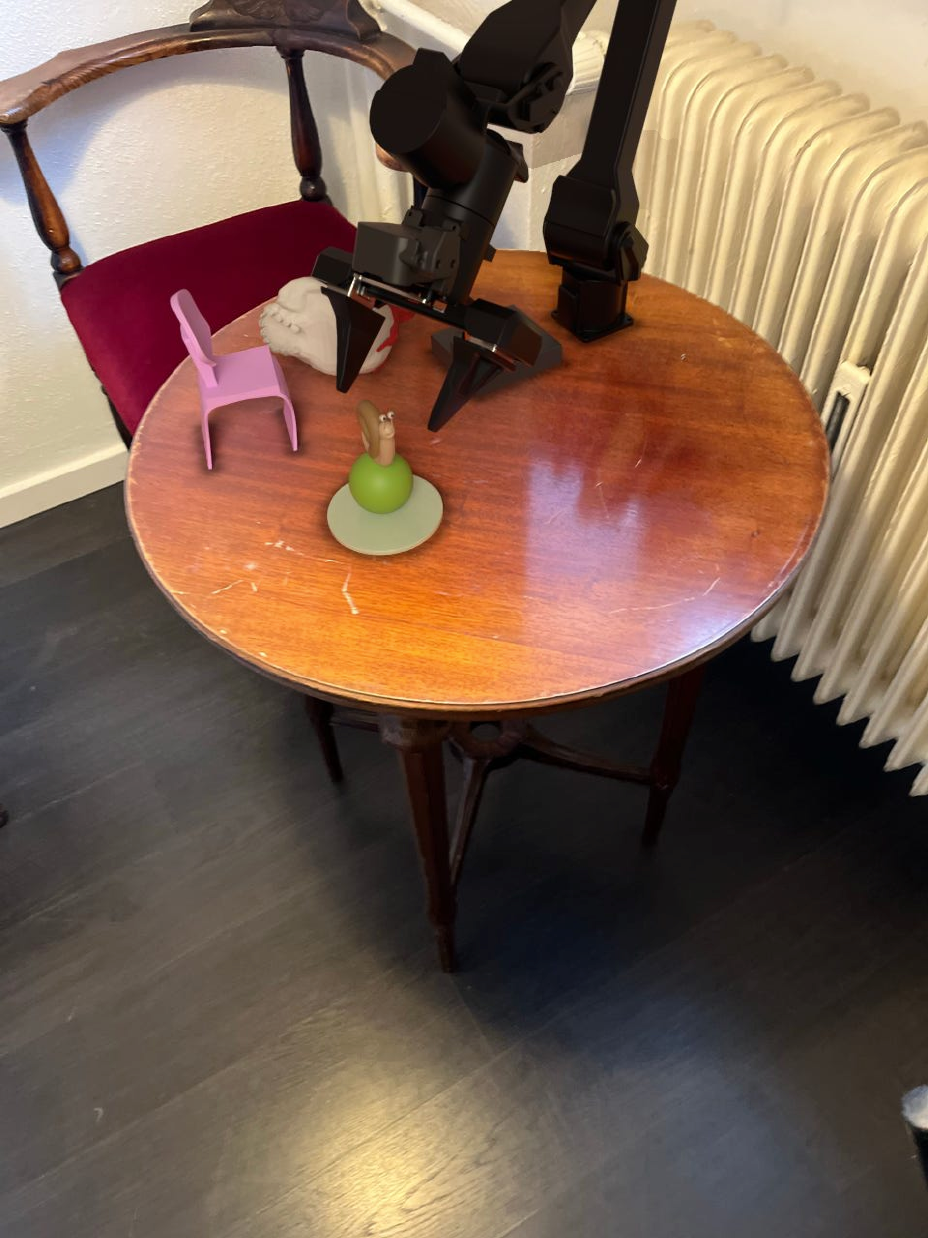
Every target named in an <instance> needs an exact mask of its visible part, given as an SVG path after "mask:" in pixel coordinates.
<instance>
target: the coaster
mask: <svg viewBox="0 0 928 1238" xmlns="http://www.w3.org/2000/svg"><path fill="white" fill-rule="evenodd" d="M412 474H413V473H412ZM443 515H444V505H443V499H442V497H441V494H440V492H439V491H438V490H437V488H436V487H435V486H434V485H433V484H432V483H430V482H429V481H428V480H427V479H425V478H423V477H420V476H418V475H416V474H413V489H412V493H411V495H410V497H409V499H408V500H407V502H406V503H405V504H404V505H403V506H402V507H401V508H399V509H398V510H396V511H394V512H391V513H387V514H376V513H372V512H369V511H367V510H365V509H363V508H362V507H361V506H360V505H359V504H358V503H357V502H356V501H355V500H354V498H353V496H352V494H351V492H350V489H349V482H348V483H346V484H344V485H343V486H342V487H340V488H339V490H338V491H337V492H336V493H335V494H334V495H333V496H332V498H331V500H330V502H329V504H328V507H327V511H326V519H327V526H328V528H329V531H330V533H331V535H332V536H333V537H334V539H335V540H336V541H337V542H339V544H341V545H342V546H343V547H345V548H347V549H349V550H351V551H354V552H356V553H359V554H363V555H368V556H369V555H370V556H391V555H396V554H401V553H404V552H408V551H411V550H413V549H414V548H416V547H418V546H420V545H422V544H423V543H425V542H426V541H427V540H429V538H431V537H432V536H433V535H434V533H435V532H436V531H437V529H438V528H439V527H440V525H441V522H442V520H443Z"/></svg>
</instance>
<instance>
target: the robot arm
mask: <svg viewBox="0 0 928 1238" xmlns="http://www.w3.org/2000/svg"><path fill="white" fill-rule="evenodd" d="M597 2H598V0H509V1H507V2H506V3H504V4H502V5H500V6H499V7H498V8H496V9H494V10H492V11H491V12H489V14H487V16H486V17H485V18H484V19H483V21H482V22H481V24H480V25H479V26H478V28H477V29H476V30H475V31H474V33H473V34H472V35H471V36H470V38H469V39H468V41H467V42H466V44H464V46H463V49H462V50H461V52H460V53H459V54H457V55H456V56H455V57H454V58H453V59H449V57H448V56H447V55H446V53H445V52H443V51H439V50H434V49H430V48H427V47H421V46H420V47H418V48H417V49H416V52H415V55H414V58H413V61H412V64H407V65H406V66H404V67H401V68H399V69H398V70H396V71H395V72H394V73H391V75H390V76H389V77H387V79H386V80H385V81H384V82H383V83H382V85H381V87H380V88H379V89H377V90H376V91H375V93H374V96H372V100H371V103H370V108H369V117H368V118H369V119H368V124H369V129H370V133H371V135H372V138H373V140H374V142H375V143H376V144H377V145H378V146H379V148H381V149H382V150H383V151H384V152H385V153H386V154H387V155H388V156H390V158H392V159H393V160H394V161H395V162H397V163H398V164H399V165H400V166H401V167H402V168H404V169H405V170H406V171H407V172H408V173H409V174H411V176H412V177H414V178H415V179H416V180H417V181H418V182H419V183H420V184H422V185H423V186H425V187H427V188H428V189H427V192H426V193H425V194H426V195H425V197H424V199H423V203H422V205H421V207H419V206H416V205H413V204H411V205H410V207H409V209H407V210H406V211H405V213H404V217H403V219H402V221H401V222H400V223H393V222H388V221H387V222H384V221H360V220H359V221H357V226H356V233H355V239H354V240H355V241H354V249H353V253H352V252H349V251H346V250H343V249H341V248H337V247H334V246H332V245H329V246H328V247H326V248H325V249H323V250H322V251H320V252H319V254H318V255H317V256H316V260H315V263H314V265H313V268H312V271H311V274H310V276H309V277H312V278H314V279H316V280H317V281H319V282H321V283H323V284H325V285H326V286H327V288H326V287H323V286H320V289H321V294H323V295H325V296H327V297H328V299H329V301H330V304H331V306H332V308H333V311H334V314H335V318H336V329H337V367H336V376H335V389H336V391H337V392H339V393H342V394H347V393H348V392H349V391H350V389H351V387H352V386H353V384H354V383H355V381H356V379H357V378H358V376H359V375H360V374H359V372H360V370H361V368H362V366H363V364H364V362H365V360H366V358H367V355H368V353H369V351H370V349H371V347H372V345H373V343H374V341H375V339H376V337H377V335H378V333H379V331H380V329H381V327H382V325H383V323H384V321H385V319H386V317H384V316H383V315H381V314H379V313H377V312H375V311H374V310H373V307H374V308H376V309H380V308H382V307H383V306H385V305H387V304H391V305H394V306H397V307H399V308H402V309H405V310H407V311H410V312H413V313H415V315H419V316H421V317H424V318H427V319H429V320H432V321H435V322H437V323H440V324H442V325H445V326H448V327H449V328H451V327H453V328H456V329H459V330H461V331H464V332H467V334H468V335H470V338H469V341H467V340H465V339H462V338H459V337H457V336H454V337H453V360H452V364H451V366H450V368H449V369H448V371H447V373H446V376H445V378H444V380H443V383H442V385H441V388H440V390H439V392H438V394H437V397H436V399H435V402H434V404H433V407H432V410H431V412H430V417H429V419H428V423H427V427H426V429H427V430H428V431H430V432H431V433H438V432H439V431H440V430H441V429H442V428H443V427H444V426H445V425H446V424H448V422H450V420H452V418H453V417H454V416H455V415H456V414H457V413H458V412H459V411H460V410H461V409H463V407H465V406H466V404H467V403H468V402H469V401H471V400H472V398H473V397H475V394H476V393H478V392H479V391H480V390H481V389H482V388H484V387H485V386H486V385H487V384H489V383H490V382H491V381H492V380H494V379H495V378H496V377H497V376H499V375H500V374H501V373H502V372H503V371H506V370H507V371H510V372H515V370H516V368H517V366H515V365H514V364H513V362H514V361H517V362H520V363H522V364H525V365H528V366H531V367H534V364H535V362H536V359H537V357H538V355H539V352H540V350H541V347H542V335H541V331H540V328H538V327H537V326H536V325H535V324H533V323H532V322H531V321H529V320H528V319H527V318H525V317H524V316H523V315H521V314H520V313H519V312H518V311H515V310H512V309H509V308H506V307H507V306H503V305H501V304H498V303H495V302H492V301H489V300H486V299H484V298H482V297H477V298H476V299H474V298H472V297H471V296H470V295H471V292H472V290H473V287H474V284H475V283H476V280H477V277H478V275H479V272H480V270H481V267H482V264H483V262H484V261H485V262H489V263H493V261H494V258H495V256H496V253H497V249H496V247H494V246H493V245H492V244H491V241H492V239H493V237H494V233H495V230H496V228H497V227H498V226H497V225H498V223H499V221H500V219H501V215H502V214H503V211H504V208H505V205H506V203H507V200H508V198H509V195H510V193H511V190H512V187H513V184H514V182H518V183H520V184H521V183H522V184H526V183H528V181H529V179H530V173H529V166H528V163H527V162H526V159H525V154H524V145H523V143H522V142H517V141H514V140H510V139H506V138H505V137H504V136H503V135H502V134H501V133H500V132H498V131H496V130H495V129H492V128H488V125H491V126H494V127H499V128H503V129H506V130H511V131H515V132H519V133H522V134H523V133H524V134H527V135H535V134H543V133H544V132H545V131H546V130H547V129H548V128H549V127H550V126H551V124H552V123H553V121H554V120H555V118H556V117H557V116H558V115H559V114H560V111H561V110H562V107H563V104H564V101H565V98H566V95H567V92H568V90H569V88H570V85H571V83H572V81H573V79H574V74H575V73H574V55H573V47H574V44H575V42H576V41H577V38H578V35H579V33H580V32H581V30H582V28H583V26H584V25H585V23H586V21H587V18H588V17H589V16H590V14H591V12H592V11H593V8H594V7H595V5H596V3H597ZM677 3H678V0H618V1H617V6H616V9H615V14H614V19H613V23H612V27H611V31H610V34H609V39H608V43H607V47H606V51H605V55H604V60H603V64H602V67H601V71H600V75H599V81H598V85H597V89H596V93H595V97H594V102H593V105H592V110H591V115H590V118H589V122H588V126H587V131H586V135H585V137H584V138H585V139H584V144H583V147H582V151H581V155H580V158H579V159H578V160H577V162H575V164H574V165H573V166H572V168H570V170H569V171H568V172H567V173H566V174H565V175H562V174H559V175H558V176H557V177H556V178H555V180H554V181H553V182H552V186H551V192H550V197H549V198H550V199H549V203H548V207H547V210H546V212H545V215H544V218H543V222H542V238H543V241H544V242H543V243H544V247H545V252H546V256H547V260H548V264H549V265H551V266H557V267H560V268H561V283H559V284H558V287H557V306H556V308H555V309H553V310H551V313H550V314H551V315H550V316H551V318H552V319H554V320H555V321H556V322H557V323H558V324H559V325H561V326H562V327H563V328H565V329H566V331H568V332H570V333H571V334H572V335H573V336H574V337H576V338H577V339H578V340H579V341H581V342H582V343H584V344H589V343H591V342H594V341H597V340H599V339H601V338H604V337H607V336H610V335H612V334H614V333H617V332H619V331H621V330H624V329H626V328H629V327H632V326H633V325H635V318H634V317H632V316H631V315H630V314H629V313H627V312H626V308H627V307H626V306H627V297H628V289H629V283H631V282H637V281H639V280H640V279H641V276H642V269H644V267H645V264H646V262H647V260H648V252H649V248H650V244H649V242H647V240H646V239H645V237H644V236H643V234H642V233H641V232H640V230H639V229H638V228H637V225H636V224H637V221H638V217H639V216H638V215H639V211H640V199H639V195H638V191H637V186H636V183H635V177H634V174H633V167H634V163H635V159H636V156H637V153H638V152H637V151H638V148H639V144H640V140H641V137H642V133H643V129H644V125H645V122H646V118H647V114H648V110H649V106H650V103H651V99H652V95H653V91H654V88H655V85H656V81H657V77H658V73H659V69H660V66H661V63H662V58H663V54H664V50H665V47H666V43H667V40H668V37H669V33H670V28H671V24H672V21H673V17H674V13H675V10H676V7H677ZM410 293H411V294H410ZM407 299H411V300H412V301H416V302H417V303H418V304H417V303H415V302H412V301H409V300H407ZM436 302H438V303H440V304H443V305H445V308H444V309H441V308H439V307H436V306H435V304H436Z"/></svg>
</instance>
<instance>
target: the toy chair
mask: <svg viewBox="0 0 928 1238" xmlns="http://www.w3.org/2000/svg"><path fill="white" fill-rule="evenodd" d="M170 306H171V309H172V312H174V315H175V316H176V318H177V320H178V321H179V324H180V325H179V326H180V327H179V329H180V334H181V336H180V337H181V339H182V342H183V343H184V345H185V348H186V349H187V351H188V354H189V356H190V357H191V359H192V361H193V364H194V366H195V367H196V370H197V384H198V385H197V386H198V393H199V401H200V409H201V433H202V439H203V445H204V451H205V457H206V463H207V470H212V469H213V463H212V453H211V439H210V431H209V414H210V412H211V411H212V410H215V409H217V408H220V407H223V406H227V405H230V404H233V403H237V402H241V401H245V400H251V399H258V398H266V397H280V398H282V399H283V400H284V404H283V411H282V412H283V416H284V420H285V424H286V428H287V431H288V435H289V440H290V443H291V447H292V450H293V452H295V451H296V452H297V451H298V436H297V434H298V433H297V423H296V416H295V415H296V414H295V411H294V407H293V403H292V400H291V396H290V392H289V389H288V385H287V383H286V382H287V381H286V378H285V375H284V372H283V369H282V366H281V365H280V362H279V360H278V359H277V357H276V356H275V355H274V354H272V353H271V351H270V350H271V349H269V347H268V345H267V344H266V345H261V346H256V347H252V348H248V349H244V350H241V351H236V352H231V353H226V354H218V355H217V354H216V355H214V354H213V341H212V334H211V333H212V332H211V328H210V324H208V322H207V321H206V319H205V318H204V316H203V315H202V313H201V311H200V309H199V308H198V306H197V304H196V302H195V299H194V298H193V296H192V294H191V293H190V292H189V290H188V289H185V288H182V289H180V290H178V291H177V292H175V293H174V294H172V295H171V297H170Z"/></svg>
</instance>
